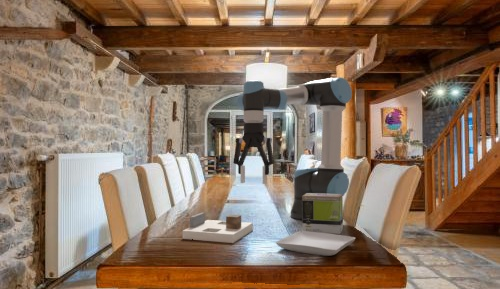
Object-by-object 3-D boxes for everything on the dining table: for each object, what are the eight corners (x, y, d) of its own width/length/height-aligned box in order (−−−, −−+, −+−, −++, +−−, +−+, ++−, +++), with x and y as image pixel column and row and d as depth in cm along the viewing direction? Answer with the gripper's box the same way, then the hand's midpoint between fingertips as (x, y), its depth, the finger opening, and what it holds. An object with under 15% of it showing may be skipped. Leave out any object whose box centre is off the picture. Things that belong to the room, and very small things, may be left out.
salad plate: (300, 238, 152) (300, 229, 152) (356, 245, 141) (356, 236, 141) (274, 252, 134) (274, 241, 134) (336, 261, 123) (336, 250, 123)
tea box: (343, 229, 166) (343, 193, 166) (340, 235, 157) (340, 196, 157) (306, 227, 171) (306, 192, 171) (301, 232, 162) (301, 195, 162)
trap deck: (252, 230, 165) (252, 212, 165) (233, 242, 144) (233, 223, 144) (207, 226, 171) (207, 210, 171) (182, 238, 151) (182, 219, 151)
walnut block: (241, 226, 157) (241, 215, 157) (237, 229, 153) (237, 217, 153) (230, 226, 159) (230, 214, 159) (226, 228, 154) (226, 216, 154)
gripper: (282, 122, 153) (282, 183, 153) (231, 123, 160) (231, 181, 160) (277, 121, 146) (277, 185, 146) (224, 122, 153) (224, 183, 153)
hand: (253, 183), depth 153 cm, fingers open, 8 cm apart
